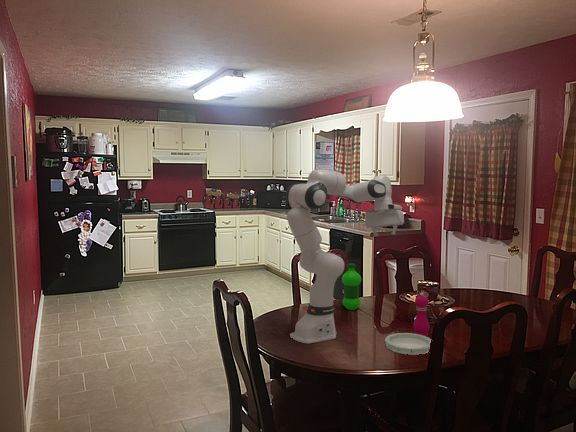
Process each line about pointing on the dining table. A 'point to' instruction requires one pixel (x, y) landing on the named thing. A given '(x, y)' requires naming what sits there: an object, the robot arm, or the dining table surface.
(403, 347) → the round dish
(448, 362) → the dining table surface
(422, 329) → the pepper mill
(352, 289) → the plastic bottle
